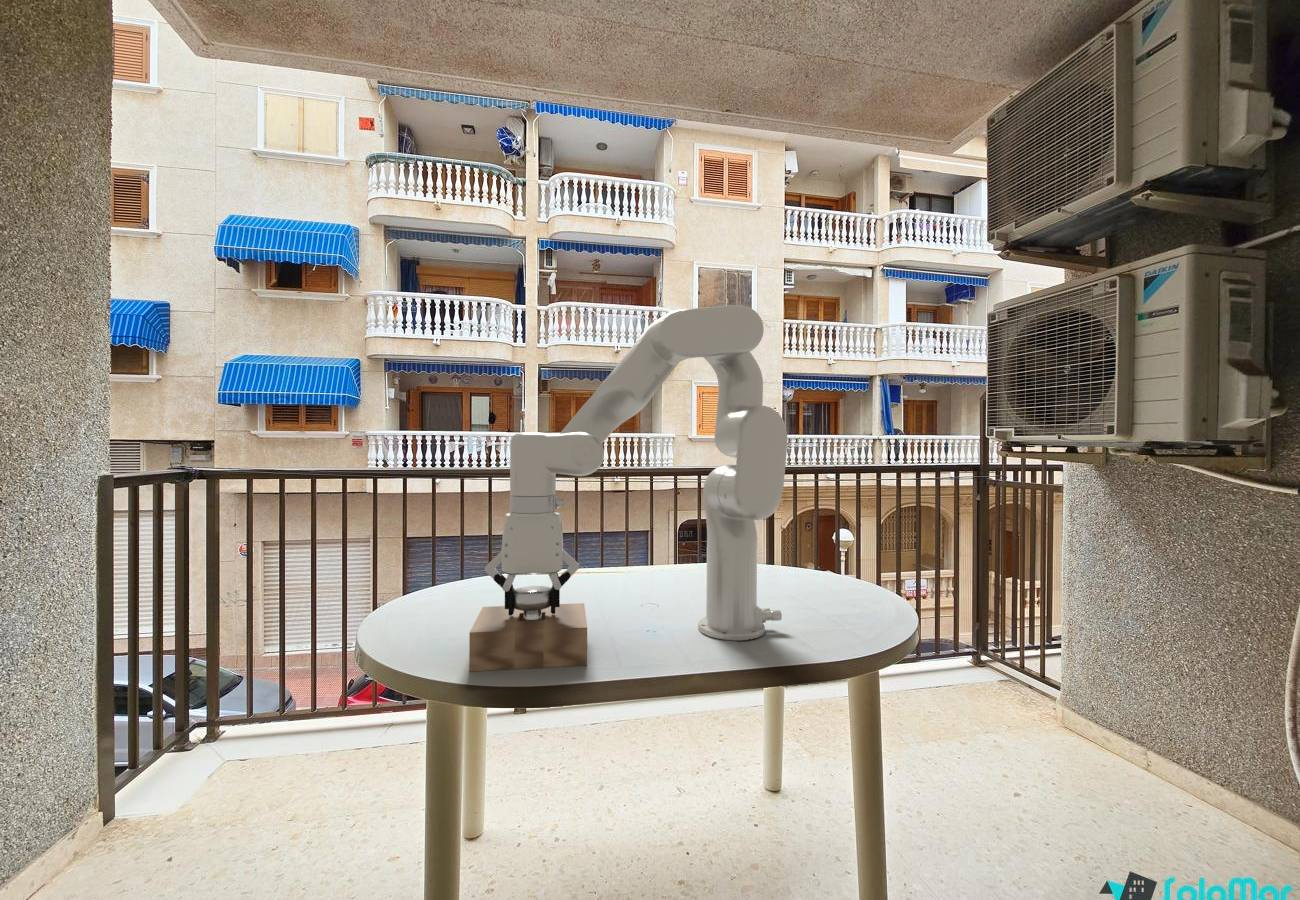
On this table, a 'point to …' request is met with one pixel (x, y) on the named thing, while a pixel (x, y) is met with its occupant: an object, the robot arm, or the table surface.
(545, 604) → the steel pin
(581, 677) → the table surface
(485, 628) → the walnut block
